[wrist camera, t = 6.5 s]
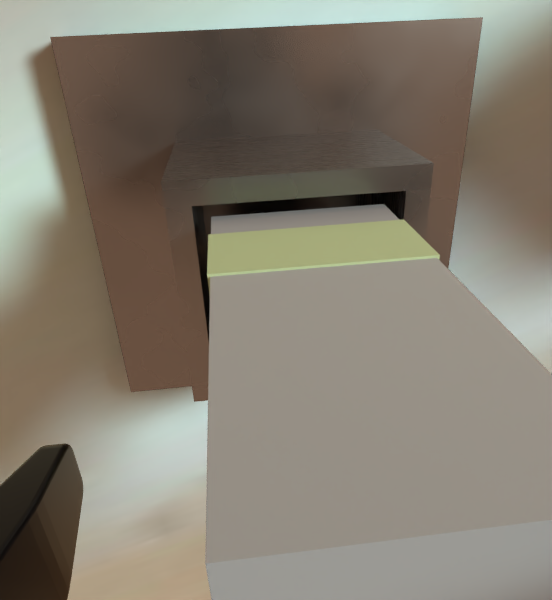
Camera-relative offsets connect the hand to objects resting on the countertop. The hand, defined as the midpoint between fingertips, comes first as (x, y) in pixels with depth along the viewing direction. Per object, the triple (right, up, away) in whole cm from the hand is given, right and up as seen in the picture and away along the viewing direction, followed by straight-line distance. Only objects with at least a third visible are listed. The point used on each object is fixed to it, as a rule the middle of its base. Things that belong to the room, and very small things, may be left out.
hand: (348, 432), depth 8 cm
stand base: (-1, +5, +9) cm, 10 cm away
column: (-1, +2, +5) cm, 5 cm away
